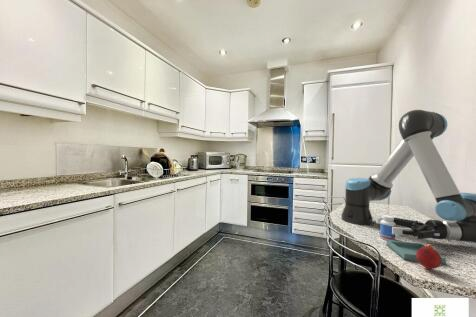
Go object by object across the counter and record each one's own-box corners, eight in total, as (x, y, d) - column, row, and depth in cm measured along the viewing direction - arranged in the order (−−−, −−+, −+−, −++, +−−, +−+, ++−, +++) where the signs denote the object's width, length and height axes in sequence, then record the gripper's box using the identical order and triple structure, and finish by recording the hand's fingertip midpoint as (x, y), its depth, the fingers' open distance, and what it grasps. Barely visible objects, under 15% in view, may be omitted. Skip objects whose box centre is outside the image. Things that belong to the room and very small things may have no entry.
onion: (432, 275, 61) (433, 249, 61) (411, 265, 67) (412, 241, 66) (445, 273, 63) (446, 247, 62) (424, 263, 68) (425, 239, 68)
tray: (386, 245, 82) (386, 240, 82) (421, 248, 80) (421, 243, 80) (404, 260, 70) (404, 253, 70) (445, 264, 68) (445, 258, 68)
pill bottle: (395, 242, 85) (396, 219, 85) (379, 239, 88) (380, 216, 88) (395, 238, 90) (396, 216, 89) (380, 235, 93) (381, 213, 93)
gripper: (468, 252, 73) (400, 245, 77) (420, 228, 97) (371, 224, 101) (469, 231, 72) (401, 225, 77) (421, 212, 97) (371, 209, 101)
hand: (383, 225), depth 89 cm, fingers open, 13 cm apart
